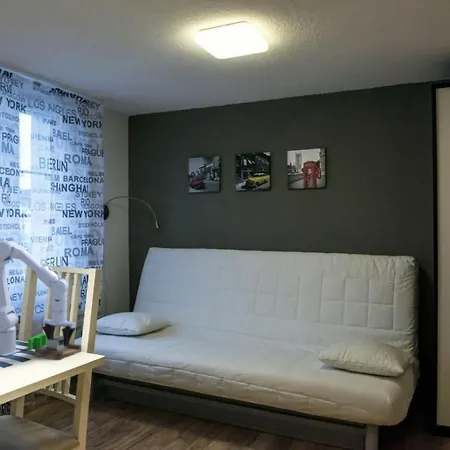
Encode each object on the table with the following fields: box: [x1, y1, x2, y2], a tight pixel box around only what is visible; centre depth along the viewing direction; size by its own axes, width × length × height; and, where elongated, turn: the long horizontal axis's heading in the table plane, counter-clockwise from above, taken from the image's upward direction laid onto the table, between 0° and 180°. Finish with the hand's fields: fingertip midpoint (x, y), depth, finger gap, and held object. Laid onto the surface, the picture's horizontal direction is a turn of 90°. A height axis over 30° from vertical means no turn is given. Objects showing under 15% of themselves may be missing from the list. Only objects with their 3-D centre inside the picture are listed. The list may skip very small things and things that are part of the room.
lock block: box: [46, 335, 69, 351], centre depth 190 cm, size 5×7×5 cm
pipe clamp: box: [27, 332, 47, 351], centre depth 201 cm, size 11×4×5 cm, turn 173°
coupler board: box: [33, 342, 82, 361], centre depth 191 cm, size 12×13×3 cm
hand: (58, 344), depth 191 cm, fingers open, 7 cm apart
